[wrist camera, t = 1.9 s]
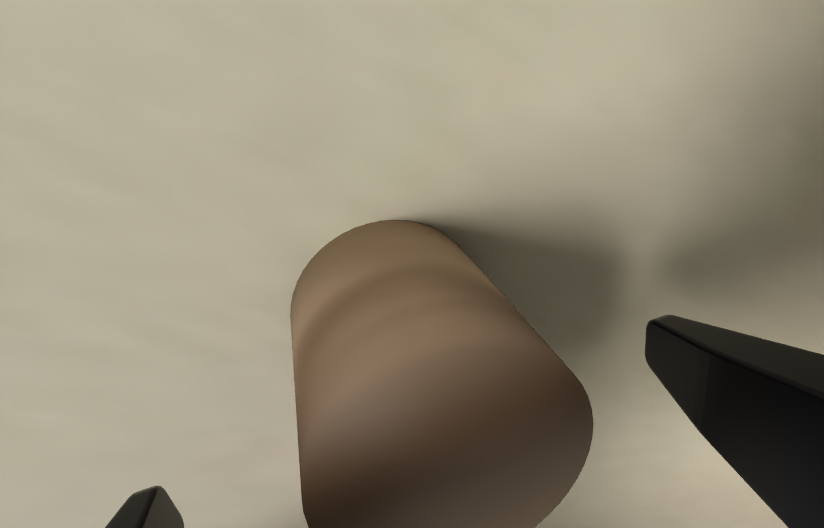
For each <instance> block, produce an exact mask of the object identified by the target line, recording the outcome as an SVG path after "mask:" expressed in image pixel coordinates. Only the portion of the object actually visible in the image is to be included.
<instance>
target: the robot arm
mask: <svg viewBox="0 0 824 528" xmlns="http://www.w3.org/2000/svg"><path fill="white" fill-rule="evenodd" d="M645 357H646V361H647V363H648V365H649V367H650V368H651V370H652V371H653V372H654V373H655V375H656V376H657V377H658V379H659V380H660V381H661V383H662V384H663V385H664V387H665V388H666V389H667V390H668V392H669V393H670V394H671V396H672V397H673V398H674V400H675V401H676V402H677V403H678V405H679V406H680V407H681V409H682V410H683V411H684V413H685V414H686V415H687V416H688V418H689V419H690V420H691V422H692V423H693V424H694V425H695V427H696V428H697V429H698V430H699V432H700V433H701V434H702V435H703V436H704V437H705V438H706V439H707V441H708V442H709V443H710V444H711V445H712V446H713V447H714V448H715V449H716V450H717V451H718V453H719V454H720V455H721V456H722V457H723V458H724V459H725V460H726V461H727V462H728V463H729V464H730V465H731V466H732V468H733V469H734V470H735V471H736V472H737V473H738V474H739V475H740V476H741V477H742V478H743V479H744V480H745V482H746V483H747V484H748V485H749V486H750V487H751V488H752V489H753V490H754V491H755V492H756V493H757V494H758V496H759V497H760V498H761V499H762V500H763V501H764V502H765V503H766V504H767V505H768V506H769V507H770V508H771V509H772V511H773V512H774V513H775V514H776V515H777V516H778V517H779V518H780V519H781V520H782V521H783V522H784V523H785V525H786V526H787V527H788V528H824V355H822V354H819V353H815V352H811V351H807V350H803V349H799V348H796V347H792V346H788V345H784V344H780V343H777V342H773V341H769V340H765V339H761V338H758V337H754V336H750V335H746V334H742V333H738V332H735V331H731V330H727V329H723V328H719V327H716V326H712V325H708V324H704V323H700V322H696V321H693V320H689V319H685V318H681V317H677V316H674V315H665V316H662V317H659V318H656V319H653V320H650V321H649V322H648V324H647V327H646V344H645ZM105 528H184V523H183V519H182V516H181V515H180V513H179V511H178V510H177V508H176V507H175V505H174V503H173V502H172V500H171V499H170V497H169V496H168V494H167V492H166V491H165V490H164V488H162V487H161V486H153V487H150V488H147V489H144V490H141V491H138V492H136V493H134V494H132V495H131V496H130V497H129V498H128V500H127V501H126V502H125V503H124V505H123V506H122V507H121V508H120V510H119V511H118V512H117V513H116V515H115V516H114V517H113V518H112V520H111V521H110V522H109V523H108V525H107V526H106V527H105Z"/></svg>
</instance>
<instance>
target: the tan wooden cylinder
mask: <svg viewBox="0 0 824 528" xmlns="http://www.w3.org/2000/svg"><path fill="white" fill-rule="evenodd" d="M290 317H291V333H292V349H293V365H294V381H295V397H296V414H297V430H298V446H299V462H300V478H301V494H302V504H303V512H304V515H305V518H306V521H307V524H308V527H309V528H534V527H535V526H536V525H538V524H539V523H540V522H541V521H542V520H543V519H544V518H546V517H547V516H548V515H549V514H550V513H551V512H552V511H553V509H554V508H555V507H556V506H557V505H558V504H559V503H560V502H561V501H562V499H563V498H564V497H565V496H566V494H567V493H568V492H569V490H570V489H571V487H572V486H573V484H574V483H575V481H576V479H577V478H578V476H579V474H580V472H581V470H582V468H583V466H584V464H585V461H586V458H587V455H588V453H589V449H590V445H591V440H592V433H593V417H592V409H591V405H590V401H589V398H588V395H587V393H586V391H585V389H584V387H583V385H582V384H581V383H580V381H579V380H578V379H577V377H576V376H575V375H574V373H573V372H572V371H571V370H570V369H569V368H568V367H567V366H566V365H565V363H564V362H563V361H562V360H561V359H560V358H559V357H558V356H557V355H556V353H555V352H554V351H553V350H552V349H551V348H550V347H549V346H548V345H547V343H546V342H545V341H544V340H543V339H542V338H541V337H540V336H539V335H538V333H537V332H536V331H535V330H534V329H533V328H532V327H531V326H530V325H529V323H528V322H527V321H526V320H525V319H524V318H523V317H522V316H521V315H520V313H519V312H518V311H517V310H516V309H515V308H514V307H513V306H512V305H511V303H510V302H509V301H508V300H507V299H506V298H505V297H504V296H503V295H502V293H501V292H500V291H499V290H498V289H497V288H496V287H495V286H494V285H493V283H492V282H491V281H490V280H489V279H488V278H487V277H486V276H485V275H484V273H483V272H482V271H481V270H480V269H479V268H478V267H477V266H476V265H475V263H474V262H473V261H472V260H471V259H470V258H469V257H468V256H467V255H466V253H465V252H464V251H463V250H462V249H461V248H460V247H459V246H458V245H457V244H456V243H455V242H454V241H453V240H452V239H451V238H449V237H448V236H446V235H445V234H444V233H442V232H440V231H438V230H436V229H434V228H432V227H430V226H427V225H424V224H421V223H417V222H411V221H403V220H388V221H378V222H374V223H369V224H365V225H362V226H359V227H356V228H354V229H351V230H349V231H347V232H345V233H343V234H341V235H340V236H338V237H337V238H335V239H333V240H332V241H330V242H329V243H328V244H327V245H326V246H324V247H323V248H322V249H321V250H320V251H319V252H318V253H317V254H316V255H315V256H314V257H313V258H312V259H311V260H310V262H309V263H308V265H307V266H306V267H305V269H304V270H303V272H302V274H301V276H300V278H299V280H298V282H297V284H296V287H295V290H294V293H293V297H292V302H291V316H290Z"/></svg>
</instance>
